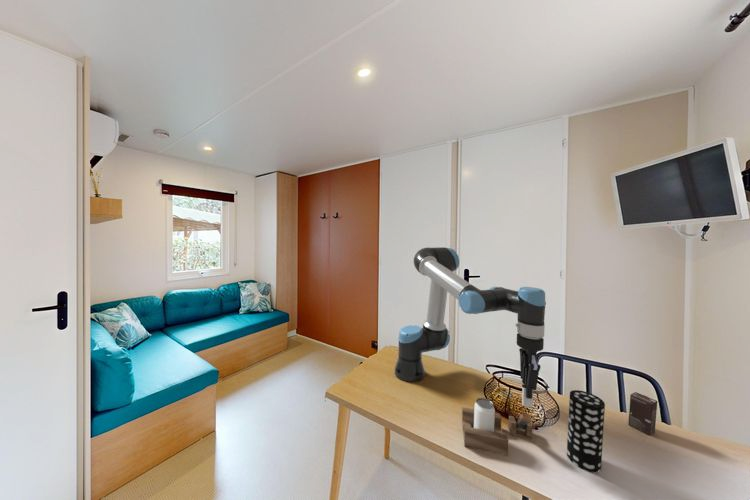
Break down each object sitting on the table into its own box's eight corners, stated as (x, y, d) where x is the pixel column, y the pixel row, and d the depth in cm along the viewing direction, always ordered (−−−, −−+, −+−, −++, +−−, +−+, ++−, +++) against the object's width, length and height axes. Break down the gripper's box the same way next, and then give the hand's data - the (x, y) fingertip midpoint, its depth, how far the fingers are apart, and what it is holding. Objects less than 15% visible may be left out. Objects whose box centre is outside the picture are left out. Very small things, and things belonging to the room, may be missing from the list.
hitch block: (461, 417, 97) (462, 405, 97) (528, 430, 91) (529, 417, 91) (464, 446, 84) (465, 431, 83) (543, 463, 78) (543, 448, 77)
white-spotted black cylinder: (591, 476, 74) (595, 410, 73) (560, 454, 81) (563, 393, 80) (607, 466, 77) (610, 403, 76) (576, 446, 85) (579, 387, 84)
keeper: (516, 428, 90) (515, 423, 92) (524, 430, 90) (523, 424, 91) (522, 418, 83) (521, 412, 85) (531, 420, 83) (530, 413, 84)
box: (627, 425, 95) (629, 394, 94) (633, 421, 97) (635, 391, 96) (650, 436, 89) (652, 403, 89) (655, 433, 91) (658, 400, 91)
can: (495, 445, 84) (497, 410, 84) (475, 442, 86) (476, 407, 85) (491, 431, 91) (492, 398, 90) (472, 428, 92) (473, 395, 91)
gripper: (512, 327, 90) (509, 392, 91) (523, 341, 77) (520, 416, 78) (536, 329, 88) (533, 395, 89) (551, 344, 75) (547, 421, 76)
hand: (527, 405), depth 84 cm, fingers closed
